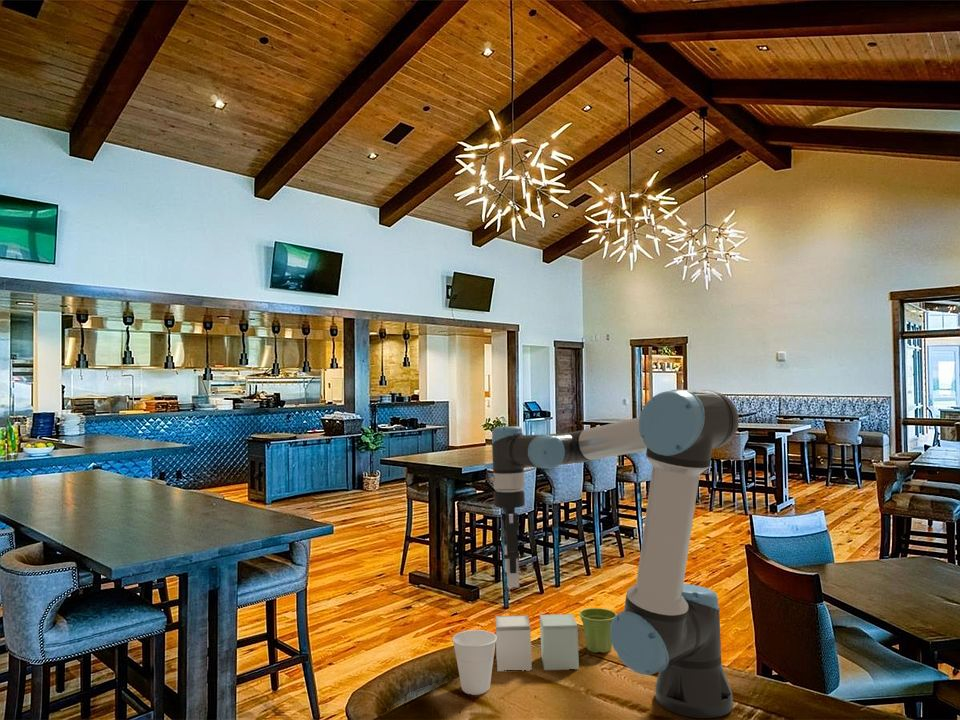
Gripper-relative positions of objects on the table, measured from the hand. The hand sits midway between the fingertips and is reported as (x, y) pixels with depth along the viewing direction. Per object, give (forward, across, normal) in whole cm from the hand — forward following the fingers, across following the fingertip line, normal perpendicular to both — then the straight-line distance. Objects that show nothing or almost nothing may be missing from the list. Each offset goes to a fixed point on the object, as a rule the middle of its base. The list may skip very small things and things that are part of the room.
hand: (511, 579), depth 152 cm
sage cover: (+20, 0, +11) cm, 23 cm away
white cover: (+20, 0, 0) cm, 20 cm away
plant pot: (+20, -8, +22) cm, 31 cm away
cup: (+20, +13, -9) cm, 25 cm away
